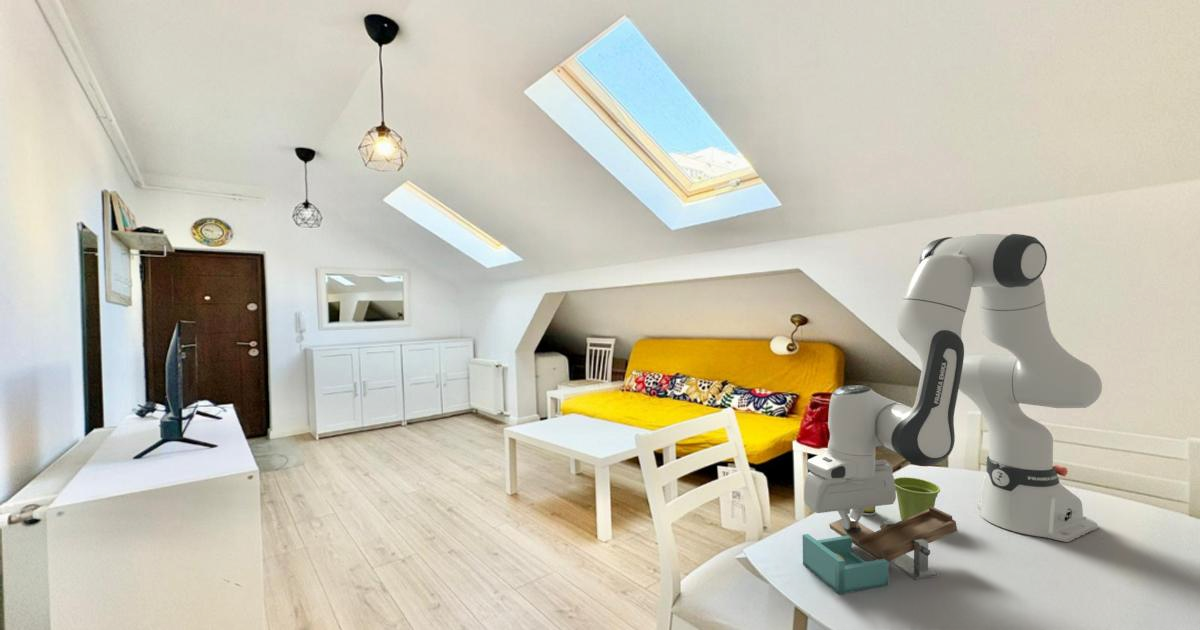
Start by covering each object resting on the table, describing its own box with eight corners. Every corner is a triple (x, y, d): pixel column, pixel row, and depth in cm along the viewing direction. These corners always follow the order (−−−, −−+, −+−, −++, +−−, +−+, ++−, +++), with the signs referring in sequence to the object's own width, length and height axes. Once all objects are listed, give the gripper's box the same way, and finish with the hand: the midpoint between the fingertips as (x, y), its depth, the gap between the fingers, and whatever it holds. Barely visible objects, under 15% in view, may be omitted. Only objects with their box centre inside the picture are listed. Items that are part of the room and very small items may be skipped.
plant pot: (942, 534, 104) (942, 495, 104) (892, 524, 109) (892, 487, 109) (938, 517, 112) (938, 481, 112) (892, 508, 117) (892, 474, 117)
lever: (896, 500, 106) (893, 489, 106) (957, 530, 92) (954, 517, 92) (830, 528, 102) (827, 516, 102) (883, 563, 88) (880, 550, 88)
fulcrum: (892, 548, 98) (892, 518, 98) (938, 576, 88) (938, 542, 88) (872, 551, 97) (872, 521, 97) (916, 580, 87) (916, 546, 87)
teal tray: (848, 556, 96) (848, 527, 96) (888, 585, 86) (888, 553, 86) (802, 564, 93) (802, 534, 93) (839, 594, 84) (838, 561, 83)
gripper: (880, 454, 104) (879, 515, 104) (799, 461, 99) (799, 525, 99) (904, 463, 97) (903, 528, 98) (820, 472, 93) (819, 540, 93)
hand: (850, 527), depth 99 cm, fingers closed
